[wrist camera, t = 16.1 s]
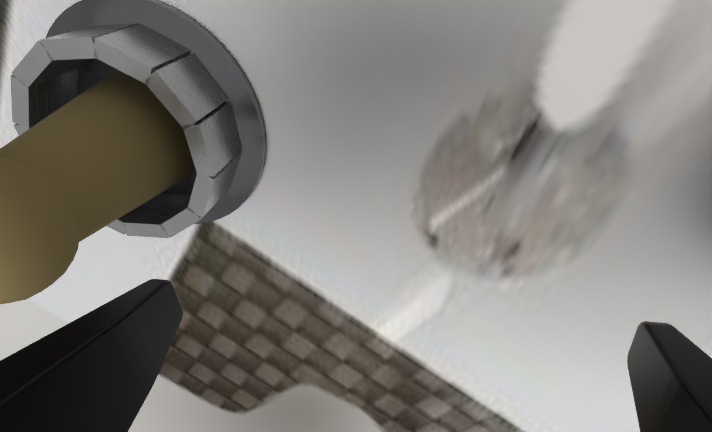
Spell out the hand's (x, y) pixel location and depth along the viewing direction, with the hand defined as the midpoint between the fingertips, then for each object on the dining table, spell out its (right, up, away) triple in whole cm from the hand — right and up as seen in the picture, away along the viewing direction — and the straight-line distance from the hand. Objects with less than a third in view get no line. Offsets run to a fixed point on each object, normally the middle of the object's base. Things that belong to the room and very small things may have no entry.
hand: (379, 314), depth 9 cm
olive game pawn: (-11, +7, +14) cm, 19 cm away
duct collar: (-11, +7, +14) cm, 19 cm away
